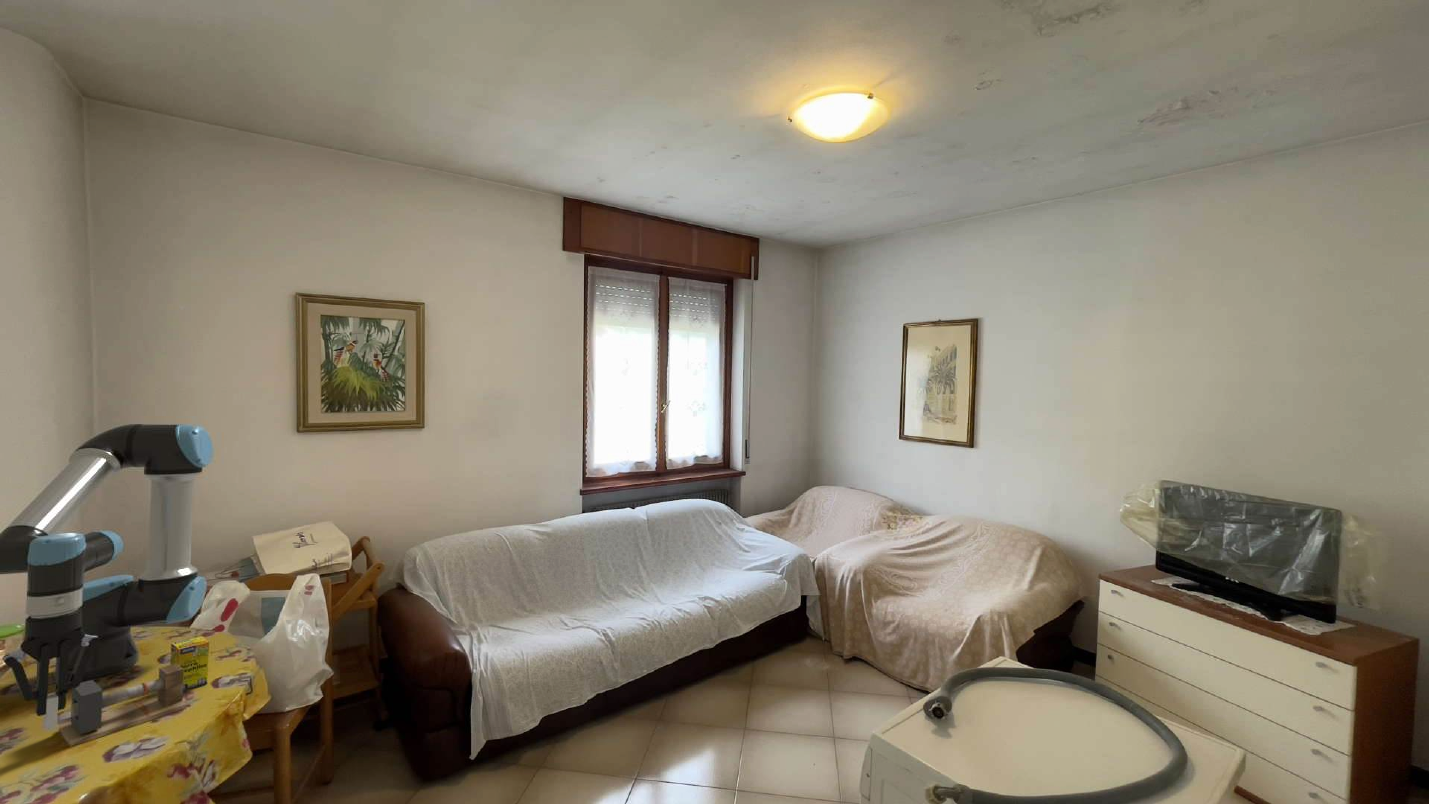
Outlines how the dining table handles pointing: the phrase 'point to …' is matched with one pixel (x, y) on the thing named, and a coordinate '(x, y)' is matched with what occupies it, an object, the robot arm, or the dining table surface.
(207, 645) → the supplement box
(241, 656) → the dining table surface
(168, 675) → the pipe rig
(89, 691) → the dark grey flat block
